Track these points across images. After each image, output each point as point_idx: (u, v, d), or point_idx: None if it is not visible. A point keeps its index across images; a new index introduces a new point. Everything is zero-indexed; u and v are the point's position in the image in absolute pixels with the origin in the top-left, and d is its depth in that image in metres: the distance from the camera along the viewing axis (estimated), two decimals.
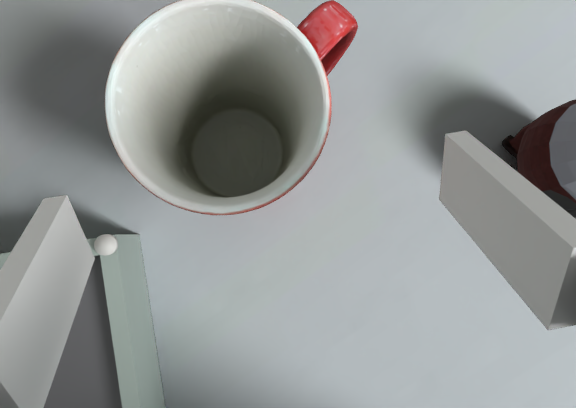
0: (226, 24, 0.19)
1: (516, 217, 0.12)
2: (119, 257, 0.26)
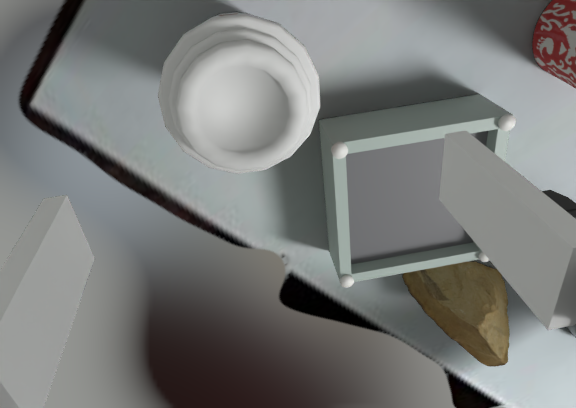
0: None
1: (516, 217, 0.12)
2: (508, 130, 0.35)
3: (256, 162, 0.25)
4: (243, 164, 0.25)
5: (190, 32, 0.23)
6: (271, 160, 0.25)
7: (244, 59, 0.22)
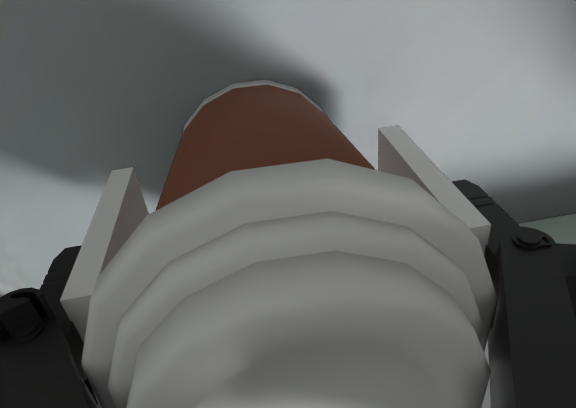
0: None
1: None
2: None
3: None
4: None
5: (165, 225, 0.08)
6: None
7: (335, 331, 0.07)
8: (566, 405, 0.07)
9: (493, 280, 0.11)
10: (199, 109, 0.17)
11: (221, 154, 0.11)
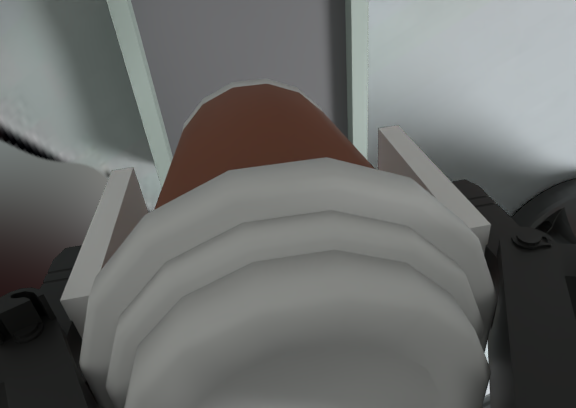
0: None
1: None
2: None
3: None
4: None
5: (163, 224, 0.08)
6: None
7: (334, 331, 0.07)
8: (566, 405, 0.07)
9: (493, 280, 0.11)
10: (198, 108, 0.16)
11: (220, 152, 0.11)
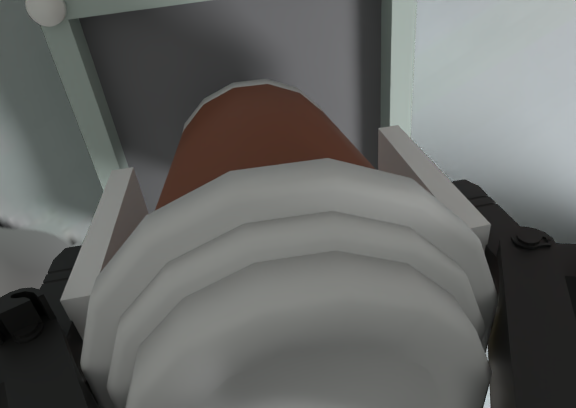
0: None
1: None
2: None
3: None
4: None
5: (164, 225, 0.08)
6: None
7: (335, 332, 0.07)
8: (566, 405, 0.07)
9: (493, 280, 0.11)
10: (199, 109, 0.16)
11: (221, 153, 0.11)
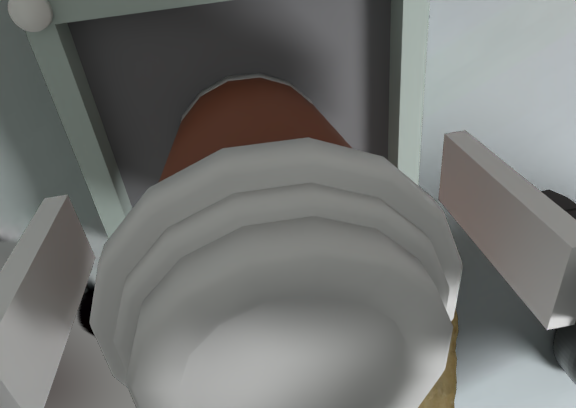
0: None
1: (515, 217, 0.12)
2: None
3: None
4: None
5: (165, 194, 0.09)
6: None
7: (312, 284, 0.08)
8: None
9: None
10: (196, 101, 0.18)
11: (215, 137, 0.12)
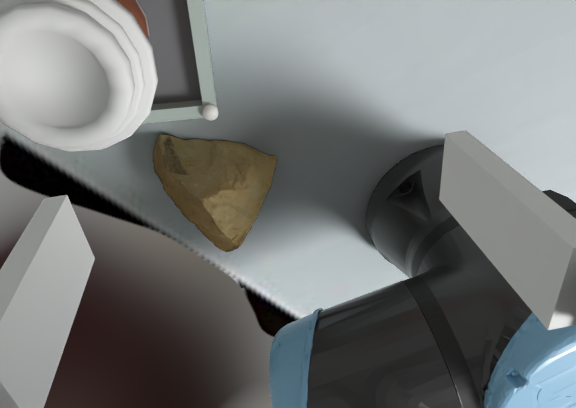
0: None
1: (516, 217, 0.12)
2: None
3: (79, 140, 0.23)
4: (64, 141, 0.23)
5: None
6: (96, 139, 0.23)
7: (46, 24, 0.20)
8: None
9: None
10: None
11: None
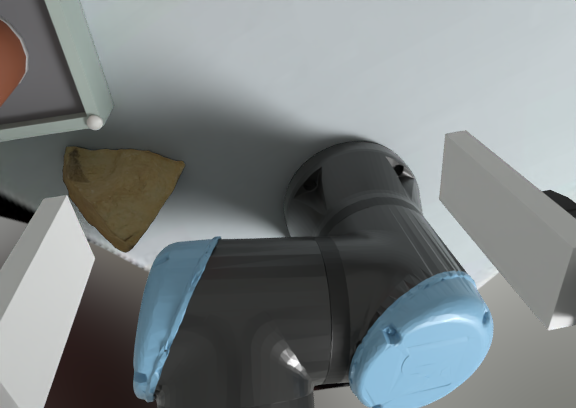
0: None
1: (516, 217, 0.12)
2: None
3: None
4: None
5: None
6: None
7: None
8: None
9: None
10: None
11: None
